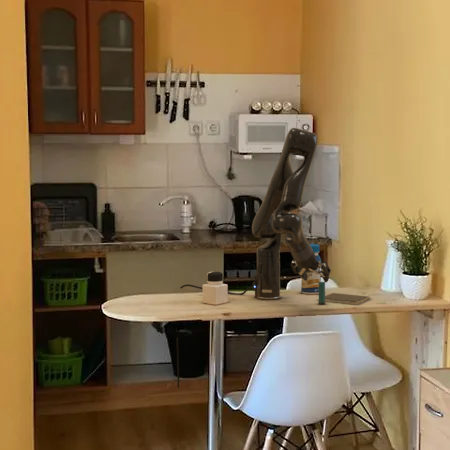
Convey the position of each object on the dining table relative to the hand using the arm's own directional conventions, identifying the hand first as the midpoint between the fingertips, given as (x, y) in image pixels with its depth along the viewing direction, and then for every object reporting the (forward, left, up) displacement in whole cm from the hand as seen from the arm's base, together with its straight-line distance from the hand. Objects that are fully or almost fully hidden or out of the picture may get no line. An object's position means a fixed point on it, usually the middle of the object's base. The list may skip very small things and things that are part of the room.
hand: (316, 279), depth 282 cm
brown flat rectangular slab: (+4, +17, -10) cm, 20 cm away
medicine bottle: (-37, -13, -10) cm, 41 cm away
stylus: (0, +5, -10) cm, 11 cm away
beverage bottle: (-14, +24, -10) cm, 29 cm away
